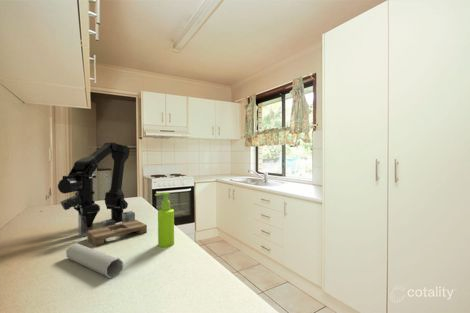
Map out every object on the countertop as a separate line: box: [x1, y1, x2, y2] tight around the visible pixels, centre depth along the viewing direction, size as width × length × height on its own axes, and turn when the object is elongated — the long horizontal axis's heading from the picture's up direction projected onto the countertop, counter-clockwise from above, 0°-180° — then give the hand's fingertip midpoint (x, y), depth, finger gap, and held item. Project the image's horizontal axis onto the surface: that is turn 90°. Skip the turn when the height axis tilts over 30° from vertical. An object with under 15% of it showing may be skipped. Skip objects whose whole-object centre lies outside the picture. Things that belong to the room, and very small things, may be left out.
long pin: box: [77, 213, 94, 238], centre depth 99 cm, size 4×4×9 cm
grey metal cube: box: [101, 218, 116, 227], centre depth 105 cm, size 4×4×4 cm
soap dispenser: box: [154, 191, 175, 248], centre depth 88 cm, size 6×7×20 cm
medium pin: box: [121, 210, 136, 223], centre depth 112 cm, size 4×4×6 cm
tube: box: [65, 243, 124, 279], centre depth 72 cm, size 5×5×25 cm
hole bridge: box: [86, 219, 148, 247], centre depth 97 cm, size 11×20×4 cm, turn 136°
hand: (85, 225), depth 99 cm, fingers open, 9 cm apart
